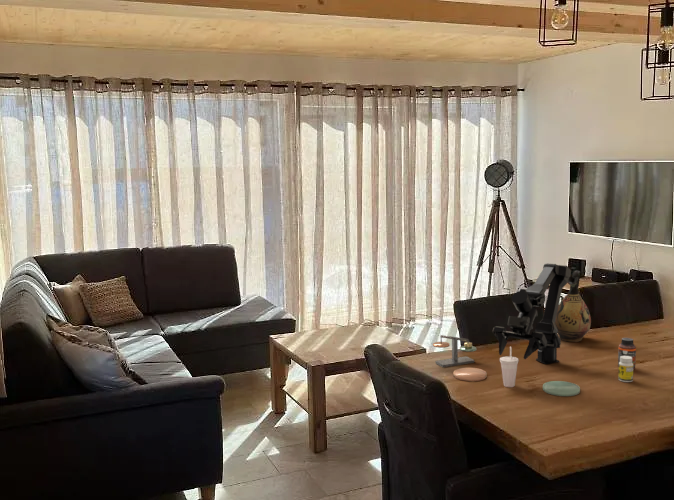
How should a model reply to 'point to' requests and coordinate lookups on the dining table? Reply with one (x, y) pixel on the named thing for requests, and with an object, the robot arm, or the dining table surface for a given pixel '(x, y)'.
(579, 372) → the dining table surface
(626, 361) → the supplement bottle
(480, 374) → the terracotta dish
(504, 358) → the smoothie
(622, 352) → the supplement bottle
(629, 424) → the dining table surface
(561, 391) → the green dish
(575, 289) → the ceramic jug
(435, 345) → the balance
